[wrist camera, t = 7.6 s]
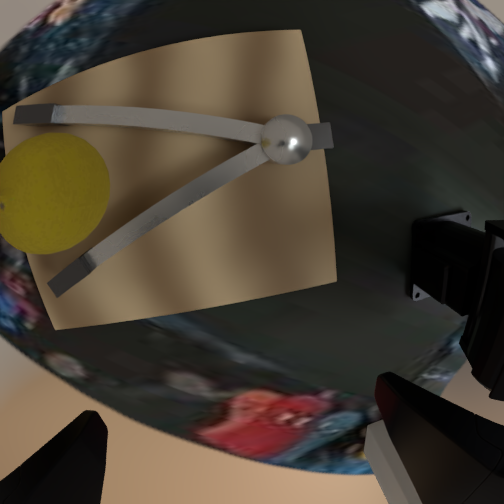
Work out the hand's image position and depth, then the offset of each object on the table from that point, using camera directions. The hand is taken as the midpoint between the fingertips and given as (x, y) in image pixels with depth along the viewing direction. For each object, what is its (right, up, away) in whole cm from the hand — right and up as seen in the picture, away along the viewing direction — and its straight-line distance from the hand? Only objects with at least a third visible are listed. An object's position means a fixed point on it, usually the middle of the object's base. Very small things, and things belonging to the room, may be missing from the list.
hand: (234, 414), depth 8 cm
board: (-5, +9, +9) cm, 14 cm away
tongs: (-4, +10, +8) cm, 13 cm away
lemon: (-9, +9, +7) cm, 15 cm away
